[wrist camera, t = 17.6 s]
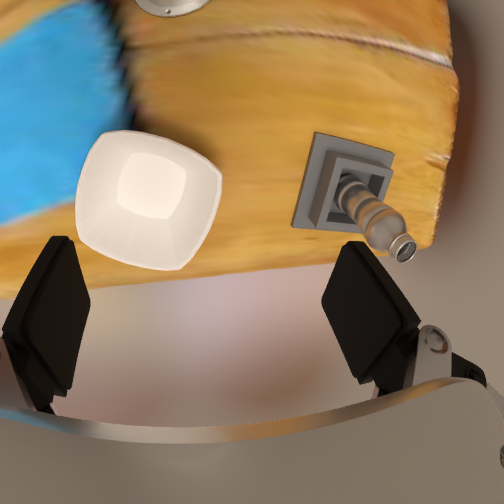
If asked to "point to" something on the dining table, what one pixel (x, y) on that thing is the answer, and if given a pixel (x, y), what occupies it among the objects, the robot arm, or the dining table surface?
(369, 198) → the plastic bottle
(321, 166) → the gray square tray
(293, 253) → the dining table surface
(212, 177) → the bowl
